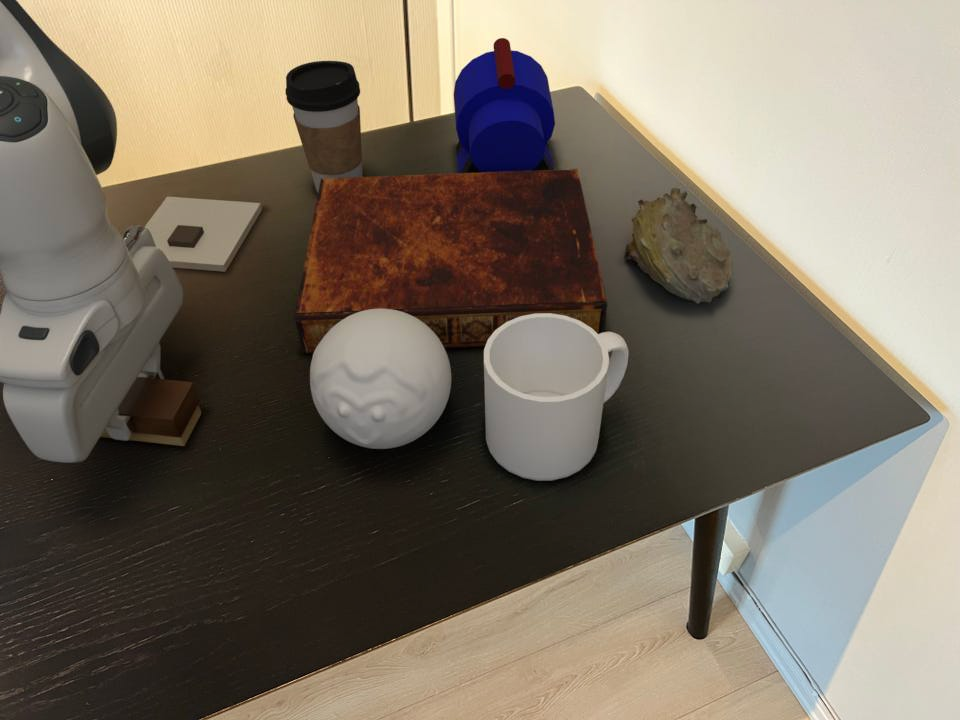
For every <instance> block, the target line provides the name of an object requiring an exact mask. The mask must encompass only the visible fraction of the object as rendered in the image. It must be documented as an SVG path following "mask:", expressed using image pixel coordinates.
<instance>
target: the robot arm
mask: <svg viewBox="0 0 960 720" xmlns="http://www.w3.org/2000/svg"><path fill="white" fill-rule="evenodd" d="M117 139H118V121H117V116H116V112H115V108H114V107H113V105H112V102H111V101H110V99H109V97H108V95H107V94H106V93H105V91H104V90H103V89H102V88H101V87H100V85H99V84H98V83H97V81H95V79H93V78H92V77H91V75H90V74H88V73H87V72H86V70H84V68H82V67H81V66H80V65H79V64H78V63H76V61H74V60H73V59H72V58H71V57H70V56H69V55H68V54H67V53H65V52H64V51H63V50H62V49H61V48H60V47H59V46H58V45H57V44H56V43H55V42H54V41H53V40H52V39H51V38H50V37H49V36H48V35H47V33H45V32H44V30H43V29H42V28H41V26H39V25H38V24H37V22H36V21H35V20H34V19H33V18H32V17H31V16H30V14H29V13H28V12H27V11H26V10H25V9H24V7H23V6H22V4H20V3H19V1H18V0H0V279H1V283H2V285H3V287H4V289H5V290H6V293H5V295H4V298H3V300H2V304H1V309H0V383H3V388H2V400H3V404H4V408H5V410H6V413H7V415H8V417H9V419H10V420H11V422H12V424H13V426H14V427H15V430H16V431H17V432H18V434H19V436H20V438H21V439H22V441H23V442H24V444H25V445H26V447H27V448H28V449H29V451H30V452H31V453H32V454H33V455H34V456H35V457H36V458H39V459H40V460H44V461H48V462H56V463H64V464H73V463H74V464H76V463H82V462H85V461H86V460H87V459H88V457H89V456H90V454H91V452H92V451H93V450H94V448H95V446H96V444H97V443H98V441H99V440H100V438H101V437H100V436H101V435H102V433H103V431H104V430H105V429H106V430H107V432H108V434H109V436H110V437H111V438H110V439H113V440H117V441H124V442H125V441H130V440H129V439H130V437H131V435H132V433H133V431H134V429H135V428H136V425H135V424H134V421H133V419H132V417H131V416H127V415H121V416H120V415H118V414H119V411H118V407H119V406H120V404H121V402H122V401H123V399H124V398H125V396H126V394H127V393H128V391H129V390H130V388H131V386H132V385H133V383H134V381H135V380H136V378H137V377H144V378H154V379H164V380H165V376H164V374H163V372H162V370H161V352H162V351H161V344H160V342H161V340H162V338H163V336H164V335H165V333H166V332H167V330H168V329H169V327H170V326H171V324H172V322H173V320H174V319H175V317H176V316H177V314H178V312H180V309H181V308H182V306H183V304H184V289H183V287H182V284H181V282H180V280H179V277H178V275H177V274H176V273H177V272H176V271H175V270H174V269H175V268H173V267H172V265H171V264H170V262H169V260H168V258H167V257H166V255H165V254H164V253H163V251H162V250H160V249H159V248H157V247H156V245H155V242H154V240H153V237H152V235H151V233H150V231H149V230H148V229H147V228H145V226H144V225H136V226H135V225H130V226H128V227H127V228H125V230H124V231H123V232H122V234H121V233H120V232H119V230H118V229H117V228H116V227H115V226H114V225H113V223H112V222H111V220H110V218H109V215H108V204H107V203H108V202H107V197H106V195H105V191H104V189H103V187H102V183H101V182H100V180H99V178H98V176H99V175H100V174H102V173H105V172H106V171H107V170H108V169H109V168H110V167H111V166H112V163H113V160H114V158H115V157H114V156H115V153H116V147H117Z"/></svg>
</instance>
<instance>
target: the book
mask: <svg viewBox="0 0 960 720" xmlns="http://www.w3.org/2000/svg"><path fill="white" fill-rule="evenodd" d="M593 237H594V236H593V233H592V229H591V224H590V220H589V215H588V209H587V206H586V201H585V197H584V192H583V188H582V183H581V179H580V175H579V170H578V168H568V169H566V168H565V169H564V168H563V169H554V170H534V171H508V172H482V173H458V172H457V173H455V172H454V173H433V174H408V175H407V174H406V175H404V174H403V175H380V176H379V175H378V176H363V177H349V178H323V179H321V181H320V186H319V191H318V193H317V197H316V202H315V207H314V213H313V217H312V222H311V227H310V233H309V238H308V244H307V248H306V254H305V259H304V264H303V270H302V274H301V278H300V279H301V280H300V285H299V290H298V295H297V300H296V305H295V310H294V316H293V318H294V321H295V325H296V328H297V329H296V330H297V333H298V337H299V340H300V344H301V349H302V353H303V354H304V355H306V354H307V355H309V354H312V355H313V354H314V351H315V349H316V347H317V346H318V345H319V343H320V342H321V340H322V339H323V337H324V336H325V335H326V334H327V333H328V332H329V330H330V329H331V328H333V327H334V326H335V325H336V324H337V323H339V322H340V321H341V320H343V319H345V318H346V317H348V316H350V315H352V314H355V313H358V312H361V311H365V310H370V309H392V310H397V311H401V312H404V313H407V314H409V315H411V316H413V317H415V318H417V319H419V320H420V321H422V322H423V323H424V324H426V325H427V326H428V327H429V328H430V329H431V330H432V331H433V332H434V333H435V334H436V336H437V337H438V338H439V340H440V341H441V343H442V345H443V346H444V348H445V349H460V348H462V349H463V348H485V346H486V343H487V340H488V339H489V337H490V336H491V335H492V334H493V332H494V331H495V330H496V329H498V328H499V327H500V326H502V325H503V324H505V323H506V322H508V321H510V320H513V319H515V318H518V317H520V316H525V315H530V314H539V313H551V314H558V315H564V316H568V317H570V318H573V319H576V320H579V321H581V322H583V323H584V324H586V325H588V326H589V327H591V328H592V329H593V330H594V331H595V332H596V333H597V334H600V333H604V332H605V324H606V316H607V308H608V302H607V296H606V293H605V292H606V291H605V288H604V284H603V278H602V275H601V270H600V266H599V265H600V264H599V260H598V255H597V251H596V247H595V242H594V238H593Z"/></svg>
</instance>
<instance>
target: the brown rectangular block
mask: <svg viewBox="0 0 960 720" xmlns="http://www.w3.org/2000/svg"><path fill="white" fill-rule="evenodd" d="M200 403H201V399H200V397H199V394H198V392H197V389H196V387H195V384H194V381H193V382H192V381H183V380H174V379H173V380H172V379H165V378H164V379H154V378H144V377H137V378H136V380H135V381H134V383H133V385H132V386H131V388H130V390H129V391H128V393H127V394H126V396H125V398H124V399H123V401H122V402H121V404H120V406H119V407H118V411H119V414H118V415H120V416H121V415H127V416H131V417H132V419H133V421H134V424H135V425H136V428H135V429H134V431H133V433H132V435H131V437H130V439H129V440H128V441H135V442H143V443H153V444H162V445H168V446H169V445H170V446H179V447H185V446H186V444H187V442H188V441H189V438H190V436H191V435H192V433H193V430H194V428H195V426H196V425H197V423H198V421H199V419H200V417H201V416H202V410H201V408H200V406H199V404H200ZM100 438H107V439H112V438H111V437H110V436H109V434H108V432H107V430H106V429H105V430H104V431H103V433H102V435H101V436H100Z"/></svg>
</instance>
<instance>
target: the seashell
mask: <svg viewBox="0 0 960 720" xmlns="http://www.w3.org/2000/svg"><path fill="white" fill-rule="evenodd" d="M662 196H663V197H662V198H661V197H660V196H659V197H657V198H656V199H654V200H651V201H649V200H644V199H639V200H638V201H637V203H638V205H639V208H640V209H638V211H637V212H636V214H635V216H634V217H632V218H631V222H632V234H631V237H632V241H631V242H630V243H628V244H627V245H626V246H625V253H624V256H623V258H624V260H625V261H634V262H635V263H637V266H638V267H639V268H640V270H641V271H642V272H644V274H647V275H648V276H649V278H650V279H652V280H653V281H654V282H656V283H658V284H659V285H661V286H662V287H663V288H664V289H665V290H667V291H668V292H670V293H671V294H673V295H675V296H677V297H679V298H680V299H685V300H688V301H693V302H694V303H695V304H697V305H699V304H700V303H703V302H704V303H707V304H708V303H712V300H713V298H714V297H718V296H719V295H720V294H721V293H722V292H723V291H726V289H728V288H729V282H731V280H732V277H733V260H732V259H731V256H730V255H731V252H730V250H729V247H728V245H727V244H726V243H725V242H724V240H723V238H722V237H721V235H722V231H721V230H719V229H718V228H716V227H714V226H713V225H712V224H710V223H708V219H707V218H703V219H699V218H698V216H697V215H696V211H697V210H696V209H697V208H698V207H697V205H696V204H695V203H691V204H690V203H689V202H688V201H687V200H686V199H687V196H688V192H687V190H684V192H681V188H678V187H677V188H676V187H673V188H671V189H670V194H669V193H667V192H666V193H664V194H663V195H662Z"/></svg>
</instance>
